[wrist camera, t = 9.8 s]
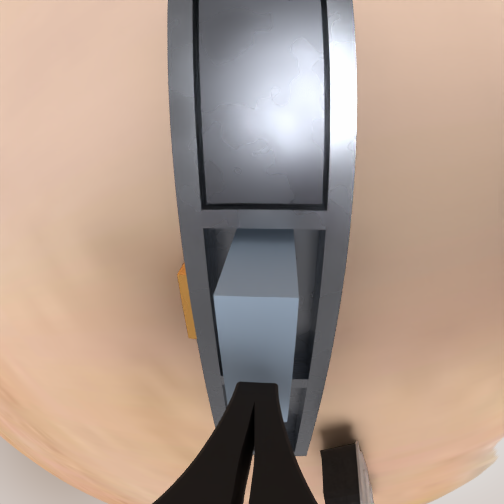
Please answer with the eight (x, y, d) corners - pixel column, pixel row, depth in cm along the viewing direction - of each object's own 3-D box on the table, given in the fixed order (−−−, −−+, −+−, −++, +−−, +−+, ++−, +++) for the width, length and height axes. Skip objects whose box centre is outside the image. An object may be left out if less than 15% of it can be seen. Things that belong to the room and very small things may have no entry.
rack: (337, 0, 10) (349, -23, 7) (305, 427, 23) (306, 455, 21) (177, 6, 11) (154, -13, 8) (219, 423, 24) (214, 451, 21)
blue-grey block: (293, 225, 14) (299, 297, 9) (287, 337, 18) (287, 422, 12) (238, 224, 15) (213, 295, 9) (243, 335, 18) (229, 419, 12)
